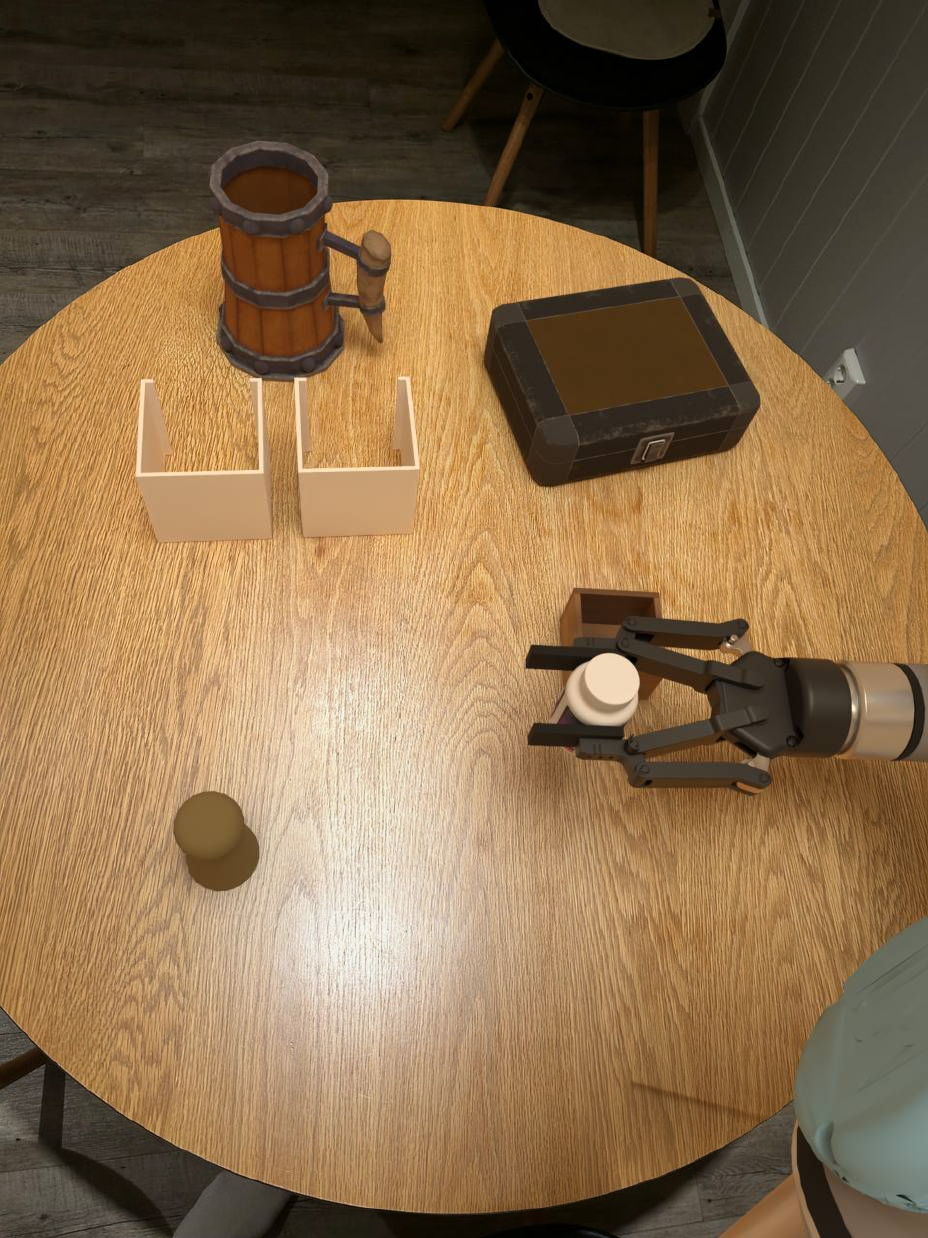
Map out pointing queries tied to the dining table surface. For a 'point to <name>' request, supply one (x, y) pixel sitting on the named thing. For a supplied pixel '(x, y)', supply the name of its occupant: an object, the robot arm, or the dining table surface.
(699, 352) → the cash box
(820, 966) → the dining table surface
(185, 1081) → the dining table surface
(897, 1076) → the robot arm
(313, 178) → the mug
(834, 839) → the dining table surface
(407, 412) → the beige u-shaped pieces
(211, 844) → the cork
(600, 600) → the wooden box
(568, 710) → the pill bottle
